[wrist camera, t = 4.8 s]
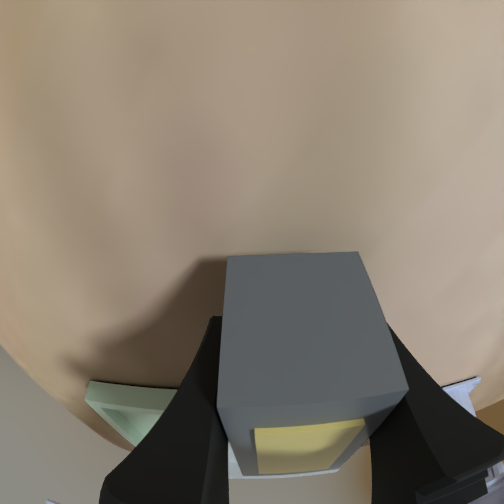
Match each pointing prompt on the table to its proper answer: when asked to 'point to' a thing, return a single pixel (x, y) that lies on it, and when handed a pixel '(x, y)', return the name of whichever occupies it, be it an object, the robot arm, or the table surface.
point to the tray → (128, 407)
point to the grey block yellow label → (303, 362)
